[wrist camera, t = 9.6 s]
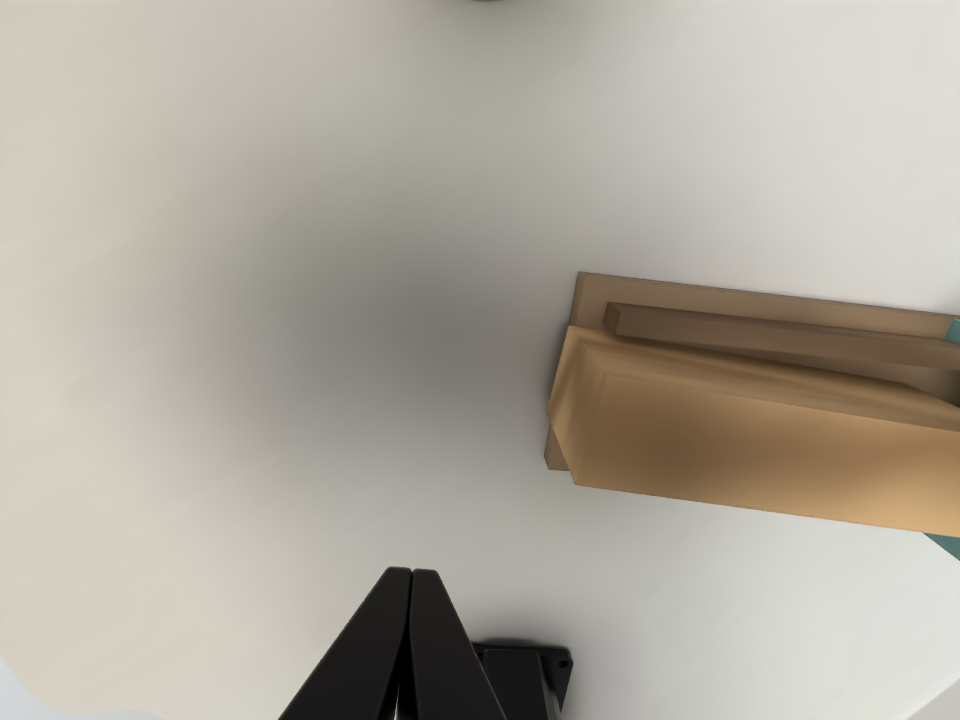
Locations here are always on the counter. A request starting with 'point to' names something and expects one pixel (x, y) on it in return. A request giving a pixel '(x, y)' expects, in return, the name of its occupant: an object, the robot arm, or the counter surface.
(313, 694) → the robot arm
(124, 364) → the counter surface
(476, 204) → the counter surface
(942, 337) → the board
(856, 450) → the wooden block
